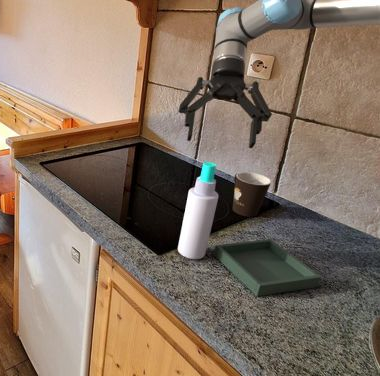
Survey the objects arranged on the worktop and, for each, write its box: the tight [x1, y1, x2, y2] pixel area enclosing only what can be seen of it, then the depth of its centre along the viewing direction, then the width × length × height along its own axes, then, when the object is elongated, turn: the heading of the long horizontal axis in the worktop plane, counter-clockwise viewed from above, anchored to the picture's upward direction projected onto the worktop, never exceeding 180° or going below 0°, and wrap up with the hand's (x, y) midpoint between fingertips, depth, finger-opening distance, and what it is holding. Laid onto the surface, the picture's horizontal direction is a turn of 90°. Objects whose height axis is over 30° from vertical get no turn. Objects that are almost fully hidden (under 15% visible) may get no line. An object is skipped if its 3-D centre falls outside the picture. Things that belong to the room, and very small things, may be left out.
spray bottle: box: [177, 161, 219, 260], centre depth 89 cm, size 6×6×22 cm
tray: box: [213, 238, 322, 297], centre depth 87 cm, size 15×15×3 cm
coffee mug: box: [232, 171, 272, 218], centre depth 112 cm, size 12×9×10 cm
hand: (220, 141), depth 93 cm, fingers open, 13 cm apart
